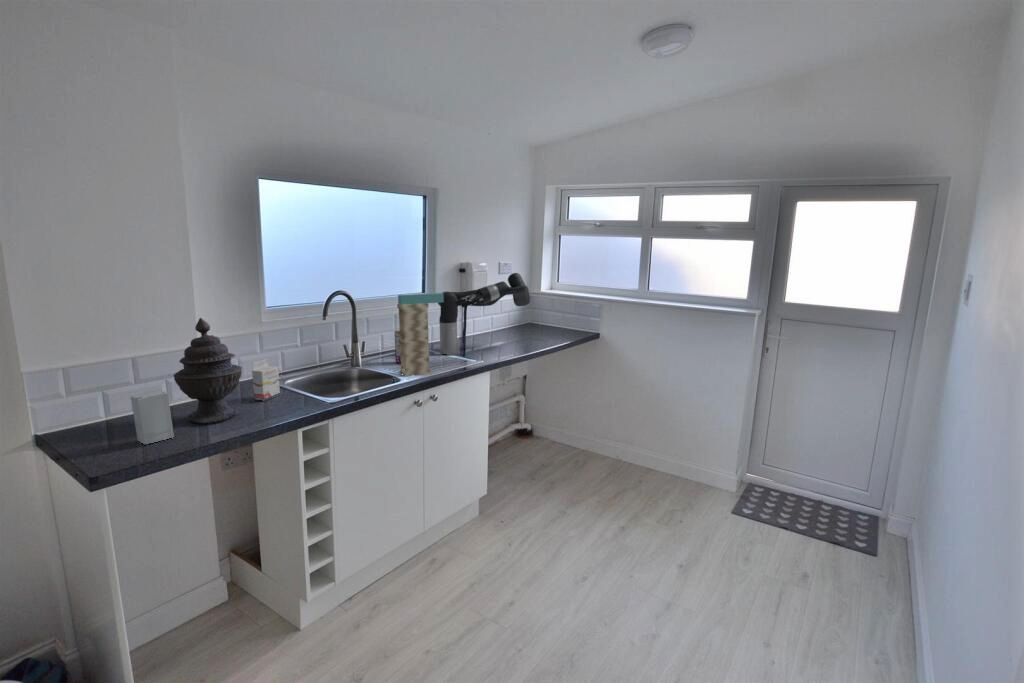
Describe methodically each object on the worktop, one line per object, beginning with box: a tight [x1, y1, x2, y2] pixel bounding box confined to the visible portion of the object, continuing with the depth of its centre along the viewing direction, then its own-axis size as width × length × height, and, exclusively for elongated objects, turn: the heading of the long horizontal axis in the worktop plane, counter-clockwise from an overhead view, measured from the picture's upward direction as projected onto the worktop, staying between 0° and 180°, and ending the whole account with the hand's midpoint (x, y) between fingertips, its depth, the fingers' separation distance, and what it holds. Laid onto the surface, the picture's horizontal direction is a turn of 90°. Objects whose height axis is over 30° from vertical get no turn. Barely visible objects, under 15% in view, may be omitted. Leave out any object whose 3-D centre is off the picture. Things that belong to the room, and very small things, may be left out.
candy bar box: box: [394, 328, 401, 363], centre depth 266 cm, size 11×5×16 cm, turn 84°
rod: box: [397, 292, 444, 305], centre depth 241 cm, size 20×4×4 cm, turn 120°
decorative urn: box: [173, 317, 243, 424], centre depth 181 cm, size 20×20×35 cm
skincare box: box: [130, 389, 175, 444], centre depth 161 cm, size 8×6×15 cm
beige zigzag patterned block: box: [396, 303, 432, 377], centre depth 242 cm, size 12×7×32 cm, turn 120°
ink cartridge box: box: [251, 358, 281, 399], centre depth 205 cm, size 9×5×15 cm, turn 160°
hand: (458, 304), depth 255 cm, fingers open, 8 cm apart
